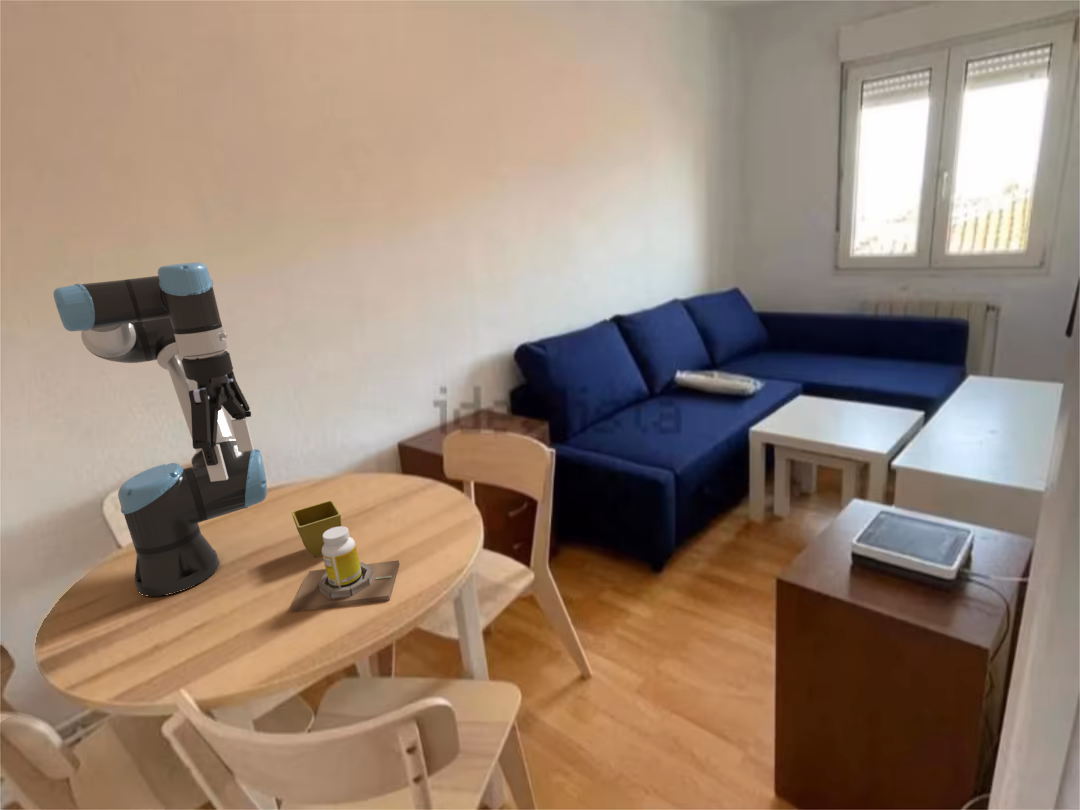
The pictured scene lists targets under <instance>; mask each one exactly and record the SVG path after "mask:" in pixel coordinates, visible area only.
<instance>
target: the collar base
mask: <svg viewBox="0 0 1080 810" xmlns="http://www.w3.org/2000/svg"><path fill="white" fill-rule="evenodd" d="M359 562H360V567H361V571H362V580H361V581H359V582H357V583H355V584H354V585H352V586H350V587H343V588H335V589H332V588H331V587H330V585H329V581H328V576H327V572H326V568H323V569H315V570H309V571H308V573H307V575H306V577H305V578H304V581H303V582H302V585H301V587H299V590H298V592H297V594H296V596H295V597H294V600H293V601H292V603H291V605H290V611H291V613H296V612H304V611H305V612H306V611H313V610H319V609H327V608H335V607H344V606H351V605H352V606H353V605H361V604H369V603H376V602H378V603H379V602H386V601H390V600H391V597H392V593H393V589H394V586H395V582H396V579H397V575H398V571H399V567H400V561H399V559H398V560H389V561H383V562H382V561H381V562H373V563H372V562H371V563H364V562H363V561H362V562H361V561H359Z"/></svg>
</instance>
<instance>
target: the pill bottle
mask: <svg viewBox="0 0 1080 810" xmlns="http://www.w3.org/2000/svg"><path fill="white" fill-rule="evenodd" d="M323 541H324V543H325V544H324V545H323V547H322V555H321V556H322V558H323V562H324V566H325V568H324V569H326V572H327V576H328V581H329V585H330V587H331V588H332V589H335V588H343V587H350V586H352V585H354V584H355V583H357V582H359V581H361V580H362V571H361V567H360V562H361V561H360V557H359V553H358V549H357V545H356V542H355V540H354V538H352V537H350V531H349V528H348V527H346V526H340V527H334V528H331V529H329V530H327V531H325V532H324V533H323Z"/></svg>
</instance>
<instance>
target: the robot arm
mask: <svg viewBox="0 0 1080 810" xmlns="http://www.w3.org/2000/svg"><path fill="white" fill-rule="evenodd" d="M213 286H214V283H213V279H212V278H211V275H210V271H209V269H208V266H207V265H206V264H205V263H204V262H185V263H178V264H175V263H173V264H168V265H162V266H160V267H158V270H157V275H153V276H144V277H137V278H129V279H121V280H109V281H101V282H91V283H75V284H72V285H67V286H60V287H57V288H55V289H54V291H53V299H54V303H55V306H56V309H57V313H58V314H59V318H60V320H61V323H62V326H63V327H64V329H65V330H66V331H69V332H81V333H80V334H81V335H80V336H81V341H82V343H83V345H84V346H85V348H86V349H87V350H88V351H89V353H91V354H93V355H94V356H96V357H98V358H100V359H103V360H106V361H110V362H115V363H116V362H118V363H125V364H137V363H145V362H151V361H157V364H158V365H159V367H161V368H162V369H164V370H167V371H168V373H169V376H170V378H171V381H172V385H173V387H174V390H175V393H176V396H177V399H178V402H179V405H180V407H181V410H182V413H183V416H184V419H185V423H186V426H187V429H188V430H189V434H190V437H191V439H192V448H193V449H194V450H195V451H196V452H195V453H194V454H193V456H192V457H191V461H190V462H191V465H192V466H189V467H186V468H184V467H183V466H181V465H180V464H179V463H175V462H174V463H172V462H171V463H170V462H169V463H167V464H166V463H164V464H160V465H156V466H153V467H151V468H148V469H146V470H144V471H141V472H139V473H137V474H136V475H134V476H132V477H130V478H129V479H127V480H126V481H125V482H124V483H123V484H121V486H120V487H119V489H118V492H117V496H118V500H119V505H120V512H121V514H123V516H124V519H125V522H126V526H127V528H128V531H129V535H130V537H131V541H132V544H133V547H134V549H135V553H136V559H135V561H136V562H135V570H134V571H135V573H134V583H135V584H134V585H135V586H136V589H137V593H139V592H140V593H141V594H143V595H148V596H160V597H162V596H161V595H166V594H169V593H174V592H177V591H180V590H183V589H186V588H188V587H191V586H193V585H196V584H198V583H199V584H201V583H202V582H201V581H203V580H204V581H206V580H207V579H208V577H209V576H210V575H211V576H212V575H213V574H215V573H216V571H217V570H218V569H217V568H219V567H220V559H219V557H218V554H217V551H216V550H215V549H214V548H213V547H212V545H211V544H210V543H209V541H208V540H207V539H206V537H205V536H204V535H203V534H202V532H201V528H200V526H199V524H200V523H202V522H204V521H208V520H209V521H210V520H211V519H216V518H218V517H221V516H224V515H228V514H231V513H234V512H237V511H240V510H244V509H245V510H246V509H248V508H250V507H251V506H255V505H257V504H259V503H262V502H263V501H265V499H266V498H267V496H268V486H267V477H266V471H265V465H264V460H263V457H262V453H261V450H260V449H258V448H256V449H255V447H254V443H253V439H252V435H251V429H250V426H249V422H248V419H247V418H251V417H252V412H251V411H250V410H251V407H250V405H249V404H248V401H247V400H246V398H245V396H244V393H243V392H242V390H241V388H240V385H239V384H238V382H237V380H236V376H235V374H234V373H235V372H234V371H233V370H234V365H233V364H232V358H231V355H230V352H229V351H227V350H226V349H227V348H228V345H227V341H226V340H227V339H226V338H228V334H227V333H226V332H224V328H223V325H222V323H223V322H222V320H221V317H220V312H219V308H218V304H217V303H218V302H217V299H216V295H215V290H214V287H213ZM218 566H219V567H218ZM216 569H217V570H216ZM215 570H216V571H215ZM212 573H213V574H212ZM211 576H210V577H211ZM210 577H209V578H210ZM206 578H207V579H206ZM205 579H206V580H205ZM204 581H203V582H204ZM200 582H201V583H200ZM199 584H198V585H199ZM196 586H197V585H196ZM191 588H192V587H191ZM140 593H139V594H140ZM141 594H140V595H141ZM143 595H142V596H143Z"/></svg>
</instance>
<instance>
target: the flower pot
mask: <svg viewBox="0 0 1080 810" xmlns="http://www.w3.org/2000/svg"><path fill="white" fill-rule="evenodd" d="M341 515H342V514H341V512H340V511H339V509H338V508H337V506H336V504H335V503H334V501H333V500H327V501H324V502H320V503H317V504H314V505H310V506H308V507H303V508H300V509H297V510H293V511H291V516H292V518H293V521H294V525H295V527H296V530H297V533H298V534H299V537H300V538H301V541H302V543H303V546H304V548H305V550H306V551H307V552H308V553H309V555H311V556H312V557H313V558H317V557H319V556H323V555H322V547H323V545H324V544H325V543H324V541H323V533H324V532H325V531H327V530H329V529H331V528H334V527H340V526H342V516H341Z"/></svg>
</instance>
